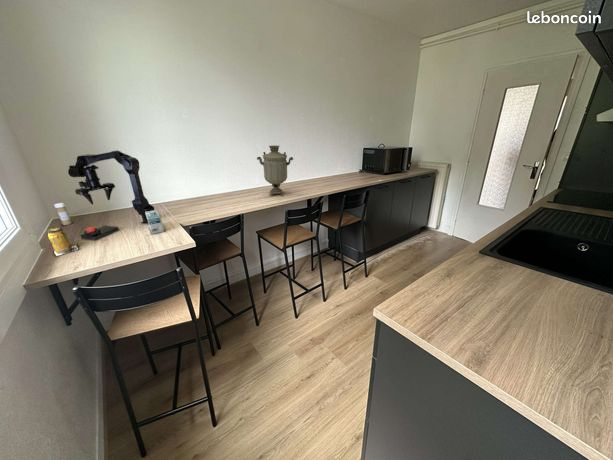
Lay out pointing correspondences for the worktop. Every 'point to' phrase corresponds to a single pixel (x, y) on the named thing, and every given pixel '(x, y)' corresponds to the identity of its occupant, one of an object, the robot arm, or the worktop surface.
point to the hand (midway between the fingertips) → (100, 202)
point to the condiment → (60, 241)
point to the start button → (90, 229)
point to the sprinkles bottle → (63, 213)
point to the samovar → (275, 168)
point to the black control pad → (99, 233)
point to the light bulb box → (154, 221)
